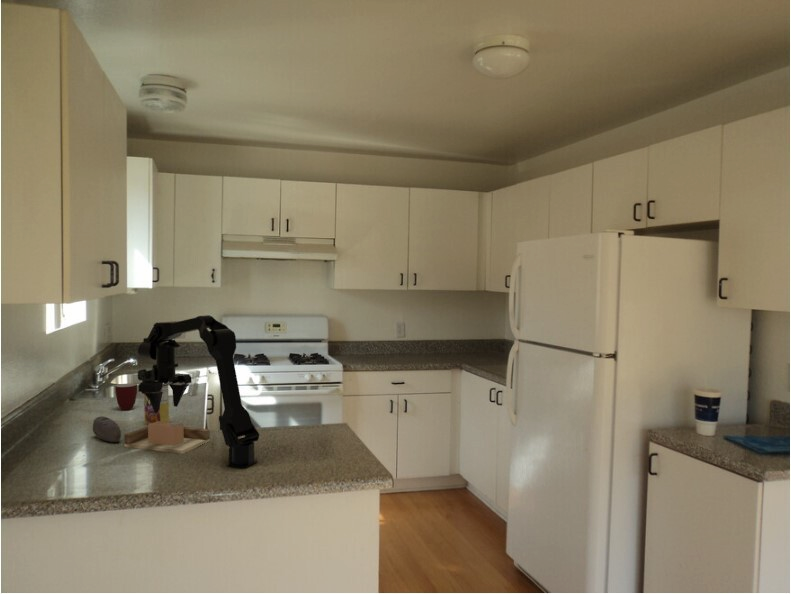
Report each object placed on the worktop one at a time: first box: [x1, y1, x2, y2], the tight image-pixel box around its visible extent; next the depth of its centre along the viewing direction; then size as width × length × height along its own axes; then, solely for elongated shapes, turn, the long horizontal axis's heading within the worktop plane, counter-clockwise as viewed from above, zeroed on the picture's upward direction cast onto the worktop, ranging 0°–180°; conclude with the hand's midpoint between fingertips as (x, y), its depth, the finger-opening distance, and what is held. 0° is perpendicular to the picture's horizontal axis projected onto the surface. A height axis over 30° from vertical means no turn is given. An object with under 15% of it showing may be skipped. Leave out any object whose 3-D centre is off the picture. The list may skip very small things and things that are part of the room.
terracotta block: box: [147, 421, 185, 446], centre depth 191 cm, size 4×10×6 cm, turn 72°
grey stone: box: [92, 416, 122, 443], centre depth 198 cm, size 15×5×7 cm, turn 48°
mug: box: [114, 383, 138, 412], centre depth 243 cm, size 11×8×10 cm
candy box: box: [143, 383, 170, 425], centre depth 219 cm, size 9×4×15 cm, turn 60°
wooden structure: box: [123, 426, 211, 454], centre depth 194 cm, size 22×14×4 cm, turn 72°
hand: (166, 409), depth 191 cm, fingers open, 9 cm apart
